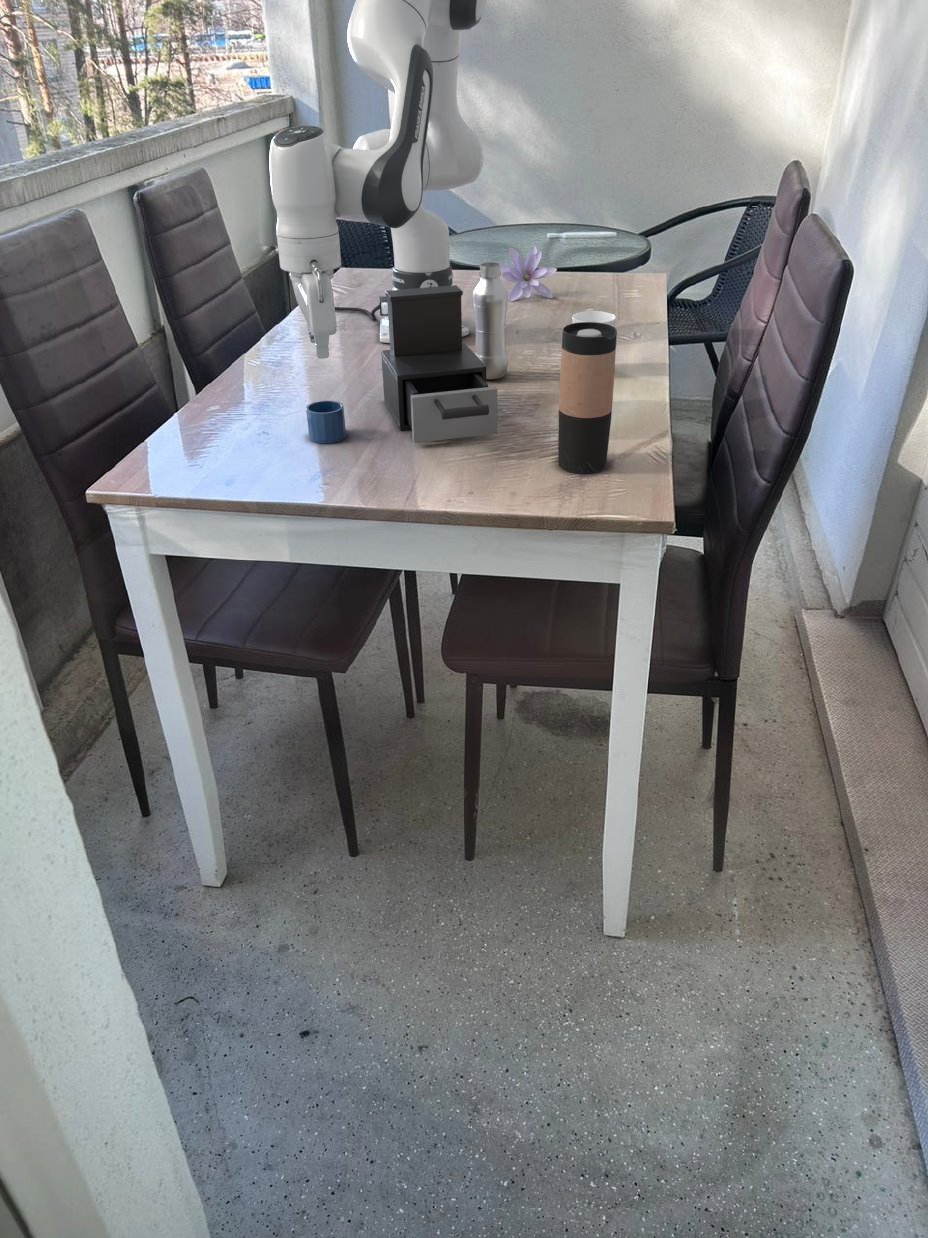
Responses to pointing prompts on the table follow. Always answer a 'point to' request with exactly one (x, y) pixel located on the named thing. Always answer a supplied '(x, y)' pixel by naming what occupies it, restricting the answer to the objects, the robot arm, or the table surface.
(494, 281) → the silver water bottle
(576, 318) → the white cup
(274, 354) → the table surface
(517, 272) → the water lily
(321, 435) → the blue cup
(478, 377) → the grey drawer
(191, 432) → the table surface
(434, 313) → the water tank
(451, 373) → the dark grey box
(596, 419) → the travel mug
